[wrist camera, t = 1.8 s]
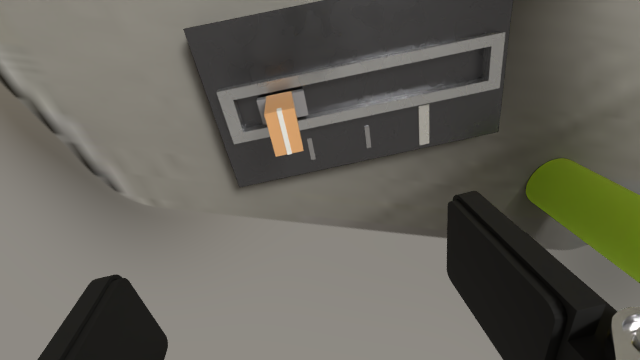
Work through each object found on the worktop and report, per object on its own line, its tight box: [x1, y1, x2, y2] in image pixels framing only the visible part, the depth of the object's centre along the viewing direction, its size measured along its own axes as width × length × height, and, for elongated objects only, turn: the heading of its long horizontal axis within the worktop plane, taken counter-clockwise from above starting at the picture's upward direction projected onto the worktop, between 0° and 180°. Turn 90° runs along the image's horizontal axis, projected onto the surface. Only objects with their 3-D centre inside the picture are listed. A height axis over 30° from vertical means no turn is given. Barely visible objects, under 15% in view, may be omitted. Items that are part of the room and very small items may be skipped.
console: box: [183, 0, 513, 187], centre depth 26 cm, size 13×24×4 cm, turn 100°
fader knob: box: [257, 89, 308, 157], centre depth 22 cm, size 3×4×6 cm
